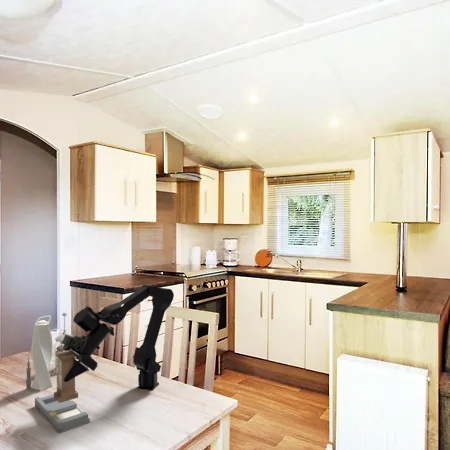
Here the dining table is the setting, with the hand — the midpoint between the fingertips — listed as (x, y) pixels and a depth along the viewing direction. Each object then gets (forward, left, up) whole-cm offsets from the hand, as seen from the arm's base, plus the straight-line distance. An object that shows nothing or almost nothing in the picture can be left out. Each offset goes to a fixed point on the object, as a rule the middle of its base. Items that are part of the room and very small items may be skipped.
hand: (61, 378), depth 130 cm
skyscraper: (+24, -20, -14) cm, 34 cm away
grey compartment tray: (+2, -3, -13) cm, 14 cm away
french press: (+28, -40, -13) cm, 50 cm away
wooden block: (-1, -1, -7) cm, 7 cm away
